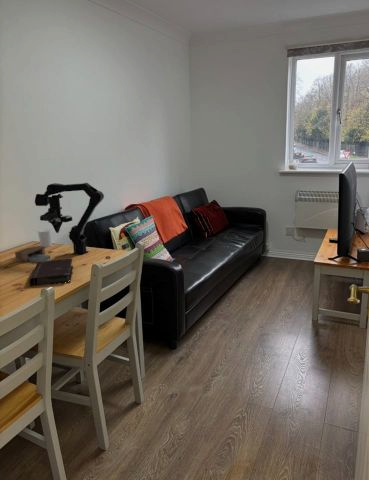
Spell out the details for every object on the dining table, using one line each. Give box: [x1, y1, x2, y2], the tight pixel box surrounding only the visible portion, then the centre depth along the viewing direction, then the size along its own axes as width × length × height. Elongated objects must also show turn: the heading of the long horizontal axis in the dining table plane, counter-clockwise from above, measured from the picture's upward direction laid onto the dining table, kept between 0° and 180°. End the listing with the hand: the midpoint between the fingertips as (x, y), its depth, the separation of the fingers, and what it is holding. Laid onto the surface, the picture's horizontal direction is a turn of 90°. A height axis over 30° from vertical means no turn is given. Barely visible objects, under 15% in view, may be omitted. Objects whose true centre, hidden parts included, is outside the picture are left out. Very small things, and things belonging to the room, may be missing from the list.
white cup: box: [37, 228, 53, 248], centre depth 244 cm, size 8×8×10 cm
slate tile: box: [28, 253, 52, 263], centre depth 216 cm, size 12×8×2 cm, turn 68°
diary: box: [28, 258, 74, 287], centre depth 190 cm, size 19×25×5 cm
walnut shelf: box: [14, 244, 46, 263], centre depth 219 cm, size 7×15×5 cm, turn 158°
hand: (57, 232), depth 227 cm, fingers closed
